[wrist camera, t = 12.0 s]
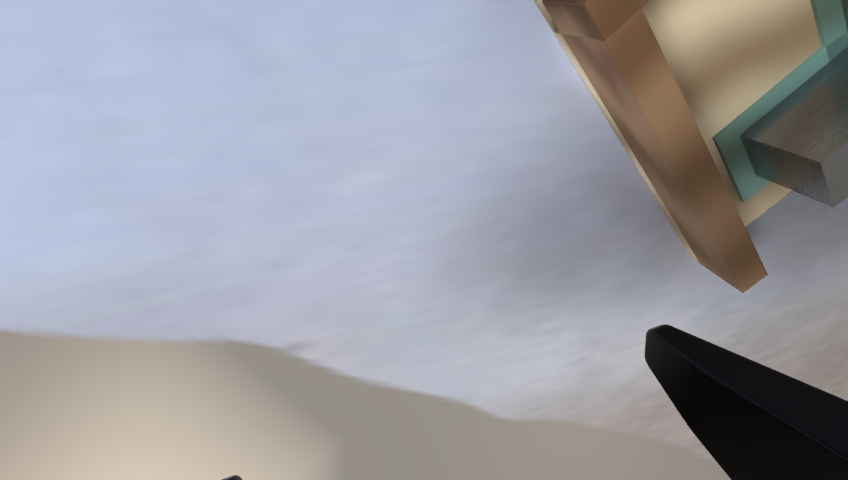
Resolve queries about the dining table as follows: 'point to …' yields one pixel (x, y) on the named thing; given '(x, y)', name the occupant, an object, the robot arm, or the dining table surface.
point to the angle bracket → (807, 135)
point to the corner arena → (699, 101)
